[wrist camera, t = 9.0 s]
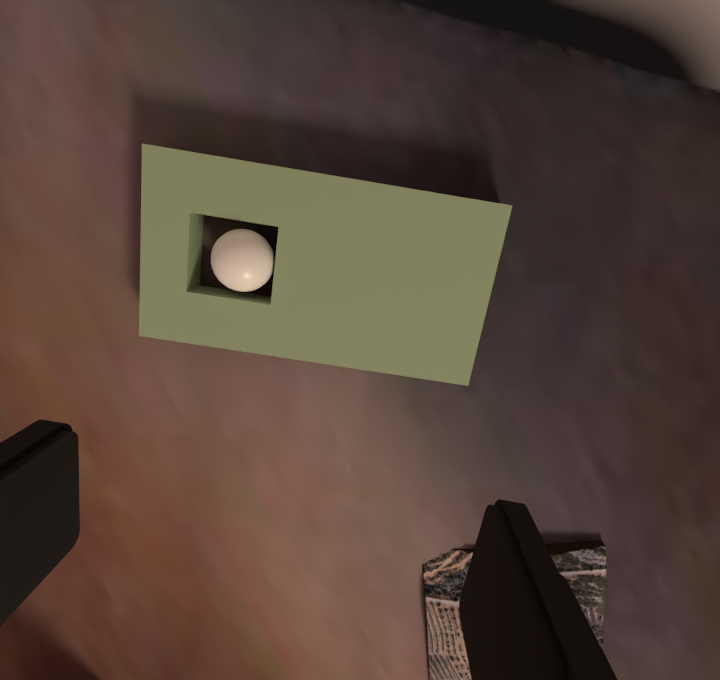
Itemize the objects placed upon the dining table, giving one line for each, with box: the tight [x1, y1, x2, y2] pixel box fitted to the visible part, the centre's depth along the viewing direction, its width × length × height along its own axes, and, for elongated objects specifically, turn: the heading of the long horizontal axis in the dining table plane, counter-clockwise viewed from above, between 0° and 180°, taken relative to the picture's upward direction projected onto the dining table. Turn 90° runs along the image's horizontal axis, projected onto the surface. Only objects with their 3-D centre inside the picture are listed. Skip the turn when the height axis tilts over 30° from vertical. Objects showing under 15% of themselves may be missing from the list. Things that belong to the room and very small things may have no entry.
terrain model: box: [423, 541, 607, 680], centre depth 39 cm, size 20×15×3 cm
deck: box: [139, 144, 512, 386], centre depth 29 cm, size 22×12×2 cm, turn 81°
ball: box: [211, 229, 275, 292], centre depth 28 cm, size 4×4×4 cm
